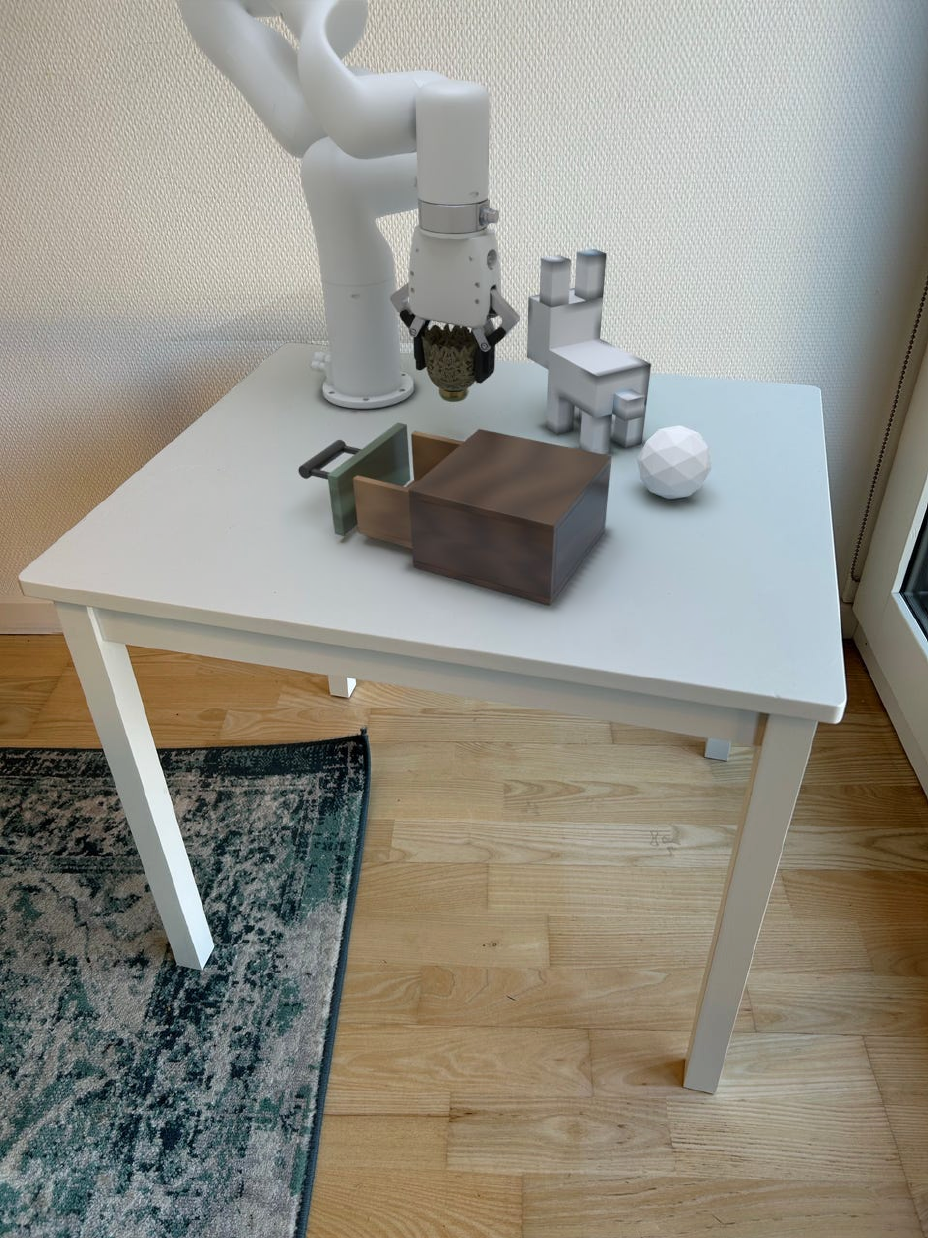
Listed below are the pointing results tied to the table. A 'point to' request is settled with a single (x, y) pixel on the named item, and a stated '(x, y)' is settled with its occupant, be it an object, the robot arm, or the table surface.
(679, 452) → the geometric ball
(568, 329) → the toy llama
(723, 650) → the table surface
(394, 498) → the drawer
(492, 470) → the cabinet
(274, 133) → the robot arm
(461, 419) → the table surface
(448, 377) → the cup
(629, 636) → the table surface
